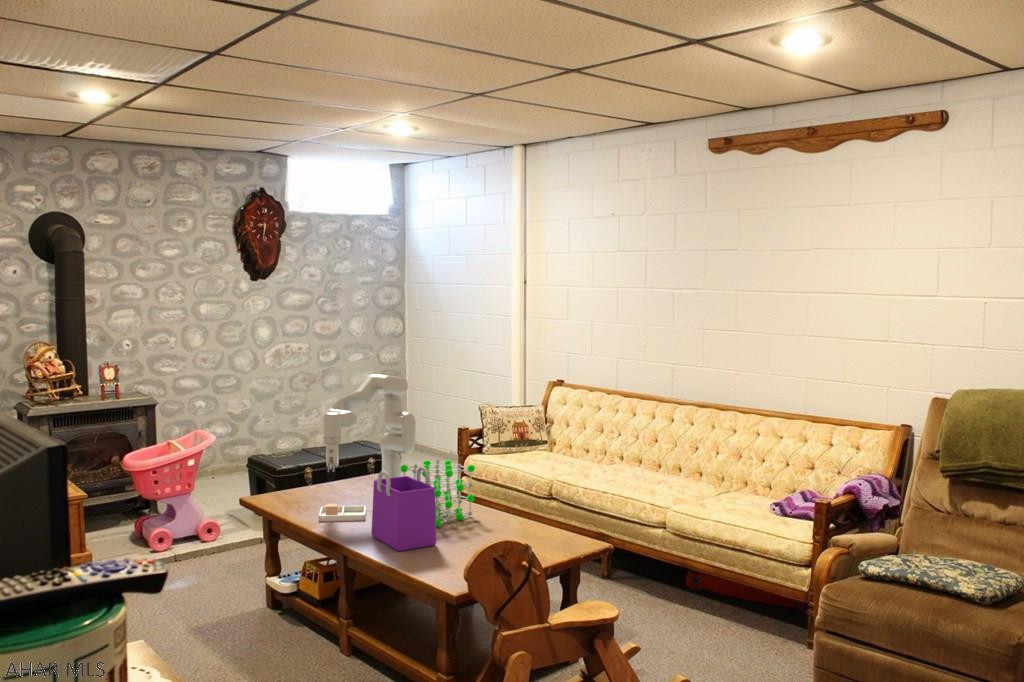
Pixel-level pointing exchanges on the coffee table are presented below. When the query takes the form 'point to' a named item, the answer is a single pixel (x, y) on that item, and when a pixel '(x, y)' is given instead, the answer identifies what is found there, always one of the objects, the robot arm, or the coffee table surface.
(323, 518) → the sorting box
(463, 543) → the coffee table surface
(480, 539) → the coffee table surface
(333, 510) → the plain light orange cube
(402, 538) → the shopping bag
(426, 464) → the molecular structure model
